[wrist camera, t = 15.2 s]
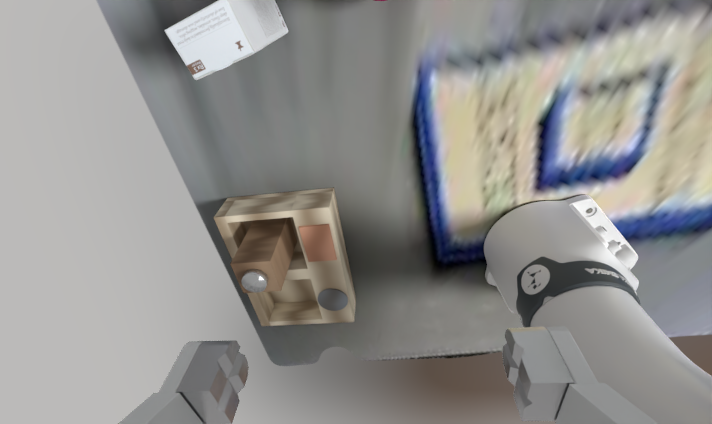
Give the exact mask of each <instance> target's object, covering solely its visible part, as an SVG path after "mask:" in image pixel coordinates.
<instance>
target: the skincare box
mask: <svg viewBox="0 0 712 424" xmlns="http://www.w3.org/2000/svg"><path fill="white" fill-rule="evenodd" d="M164 31H165V33H166V34H167V36H168V38H169V39H170V41H171V42H172V44H173V45H174V47H175V49H176V50H177V52H178V53H179V55H180V57H181V58H182V60H183V61H184V63H185V65H186V66H187V68H188V69H189V71H190V73H191V74H192V76H193V78H194V79H195V80H198V79H201V78H203V77H205V76H207V75H209V74H211V73H214V72H216V71H218V70H221V69H224V68H226V67H228V66H229V65H231V64H233V63H235V62H238V61H240V60H242V59H244V58H246V57H248V56H250V55H252V54H254V53H256V52H258V51H260V50H261V49H263V48H264V47H266V46H267V45H269V44H271V43H272V42H274V41H276V40H277V39H279V38H280V37H282V36H284V35H285V34H287V33H288V29H287V26H286V24H285V22H284V20H283V17H282V15H281V13H280V11H279V8H278V6H277V4H276V2H275V0H218V1H216V2H214V3H213V4H211V5H209V6H207V7H205V8H203V9H202V10H200V11H198V12H196V13H194V14H193V15H191V16H189V17H187V18H185V19H183V20H182V21H180V22H178V23H176V24H174V25H173V26H171V27H169V28H168V29H165V30H164Z"/></svg>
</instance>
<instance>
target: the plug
mask: <svg viewBox="0 0 712 424" xmlns="http://www.w3.org/2000/svg"><path fill="white" fill-rule="evenodd" d="M296 243H297V240H296V236H295V233H294V230H293V226H292V223H291V220H290V217H288V218H277V219H265V220H254V221H253V222H252V224H251V226H250V228H249V230H248V232H247V234H246V235H245V237H244V239H243V241H242V243H241V245H240V247H239V248H238V250H237V252H236V254H235V256H234V258H233V260H232V262H231V263H230V265H231V267H232V269H233V271H234V273H235V276H236V278H237V280H238V282H239V284H240V287H241V289H242V291H243V293H257V292H272V291H281V290H282V287H283V284H284V280H285V277H286V274H287V271H288V268H289V265H290V262H291V259H292V255H293V252H294V249H295V246H296Z"/></svg>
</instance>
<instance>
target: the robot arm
mask: <svg viewBox="0 0 712 424" xmlns="http://www.w3.org/2000/svg"><path fill="white" fill-rule="evenodd" d="M589 208H590V209H589ZM587 209H589V210H587ZM484 255H485V258H486V261H487V268H486V272H485V278H486V280H487V282H488V283H489V284H491V285H493V286H497V288H498V290H499V292H500V294H501V296H502V298H503V299H504V301H505V303H506V305H507V307H508V309H509V310H510V311H511V312H512V313H516V314H517V315H519V316H520V320H521V323H522V325H523V327H524V328H508V329H507V330H506V333H505V338H506V341H507V344H505V345H504V346H503V364H504V368H505V372H506V375H507V378H508V380H509V381H510V382H511V383H512V384H513V385H514V386H515V390H514V395H513V396H514V399H515V402H516V405H517V408H518V411H519V414H520V417H521V420H522V421H556V422H555V423H556V424H712V376H711V375H709V374H708V373H706V372H705V371H703V370H702V369H701V368H699V367H698V366H697V365H695V364H694V363H693V362H692V361H691V360H690V359H689V358H687V357H686V356H685V355H684V354H683V353H682V352H681V351H680V350H679V349H678V348H677V347H676V346H675V344H674V343H673V342H672V341H671V340H670V339H669V338H668V337H667V336H666V335H665V334H664V333H663V331H662V330H661V329H660V328H659V327H658V326H657V325H656V324H655V322H654V321H653V320H652V319H651V318H650V317H649V316H648V314H647V313H646V312H645V311H644V310H643V309H642V307H641V306H640V301H639V298H638V296H637V294H636V289H637V288H638V284H639V281H638V279H637V278H636V277H635V276H634V275H633V274H632V272H631V271H630V270H631V268H632V267H633V266H634V265H635V263H636V261H637V260H638V255H637V253H636V252H635V251H634V249H633V248H632V247H631V246H630V244H629V243H628V242H627V241H626V239H625V238H624V237H623V236H622V234H621V233H620V232H619V231H618V229H617V228H616V227H615V226H614V224H613V223H612V222H611V221H610V219H609V218H608V217H607V216H606V214H605V213H604V212H603V211H602V210H601V208H600V207H599V206H598V205H597V203H596V202H595V201H594V200H593V198H592V197H591V196H589V195H580V196H576V197H573V198H570V199H567V200H562V201H540V202H534V203H530V204H526V205H523V206H521V207H518V208H516V209H514V210H512V211H510V212H509V213H507V214H506V215H504V216H503V217H502V218H501V219H499V220H498V221H497V222H496V223H495V224H494V225H493V227H492V228H491V229H490V231H489V233H488V234H487V236H486V239H485V242H484ZM239 349H240V346H239V344H238V343H237V341H197V342H188V343H187V344H186V345H185V346H184V347H183V349H182V350H181V352H180V354H179V356H178V358H177V360H176V361H175V363H174V365H173V367H172V369H171V371H170V372H169V374H168V376H167V378H166V380H165V381H164V383H163V385H162V387H161V389H160V391H159V392H158V393H153V394H152V395H151V396H150V397H149V398H148V399H146V400H145V401H144V402H143V403H142V404H141V405H139V406H138V407H137V408H136V409H135V410H134V411H132V412H131V413H130V414H129V415H128V416H127V417H126V418H124V419H123V420H122V421H121V422H120V423H118V424H232V422H233V419H234V416H235V413H236V410H237V407H238V404H239V398H238V395H237V394H238V393H239V392H240V390H241V389H242V388H243V387H244V386H245V383H246V380H247V376H248V363H247V359H246V357H245V355H243V354H241V353H240V352H238V351H239Z"/></svg>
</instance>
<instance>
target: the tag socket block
mask: <svg viewBox="0 0 712 424" xmlns="http://www.w3.org/2000/svg"><path fill="white" fill-rule="evenodd" d="M288 217H290V220H291V223H292V226H293V230H294V233H295V236H296V240H297V243H296V246H295V249H294V252H293V255H292V259H291V262H290V265H289V268H288V271H287V274H286V277H285V280H284V284H283V287H282V290H281V291H272V292H257V293H247V294H248V296H249V298H250V301H251V303H252V305H253V307H254V309H255V312H256V314H257V316H258V318H259V321H260V323H261V325H262V326H277V325H299V324H320V323H342V322H354V317H355V303H356V296H355V291H354V286H353V281H352V276H351V271H350V266H349V261H348V256H347V251H346V246H345V241H344V236H343V231H342V226H341V221H340V216H339V211H338V206H337V201H336V196H335V191H334V188H325V189H314V190H304V191H293V192H283V193H273V194H262V195H252V196H241V197H231V198H227V199H226V201H225V202H224V204H223V205H222V206H221V208H220V209H219V211H218V212H217V213H216V215H215V216H214V220H215V222H216V224H217V227H218V229H219V231H220V233H221V236H222V238H223V240H224V242H225V245H226V247H227V249H228V251H229V253H230V256H231V258H232V260H233V258H234V256H235V254H236V252H237V250H238V248H239V247H240V245H241V243H242V241H243V239H244V237H245V235H246V234H247V232H248V230H249V228H250V226H251V224H252V222H253V221H254V220H265V219H277V218H288Z"/></svg>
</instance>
